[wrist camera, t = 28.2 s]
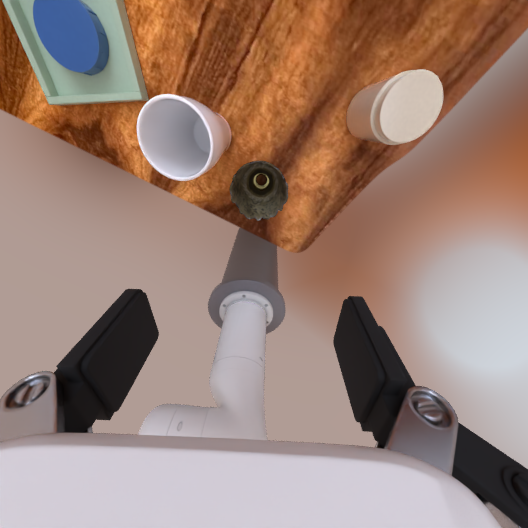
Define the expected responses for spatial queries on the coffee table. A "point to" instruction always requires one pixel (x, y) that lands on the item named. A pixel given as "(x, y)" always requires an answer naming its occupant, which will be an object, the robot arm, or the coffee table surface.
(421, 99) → the jar
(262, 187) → the grey rounded piece
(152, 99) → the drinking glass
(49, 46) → the lid
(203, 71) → the coffee table surface
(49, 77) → the tray
